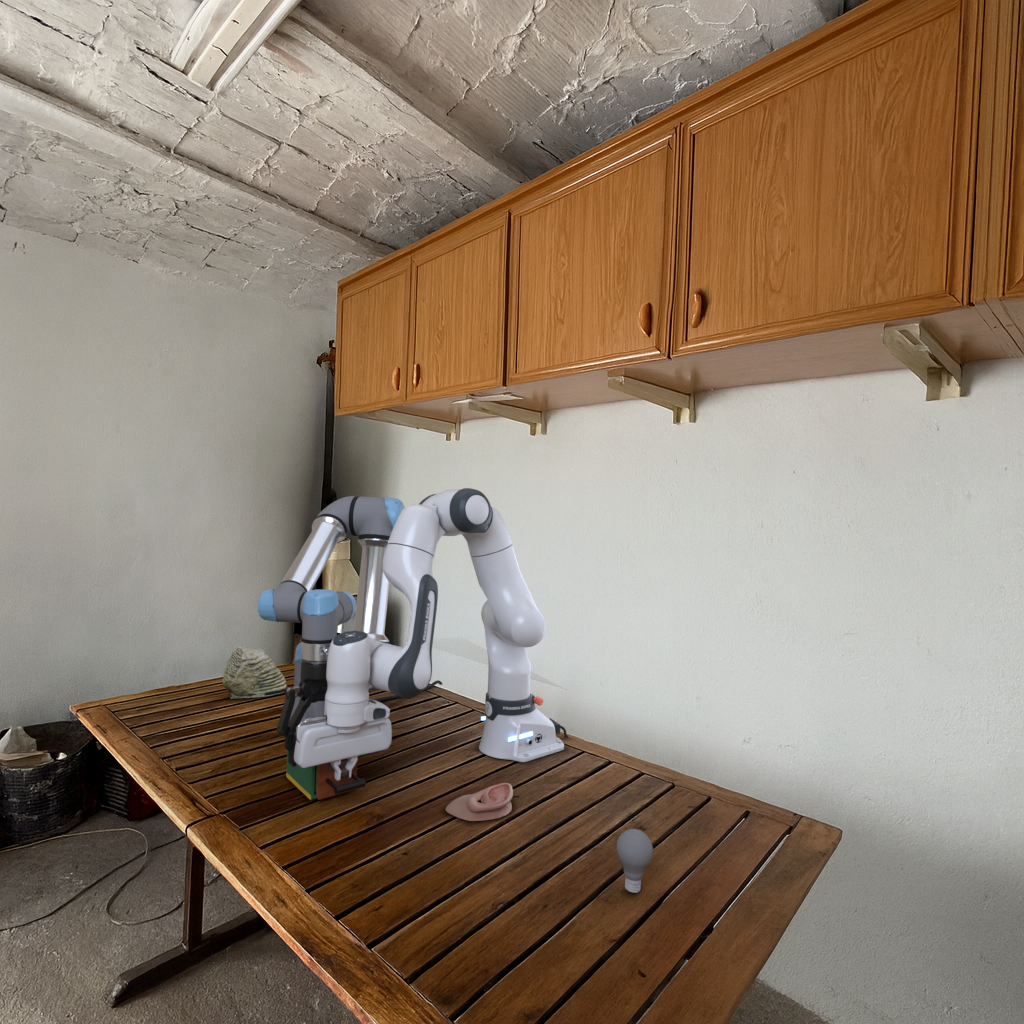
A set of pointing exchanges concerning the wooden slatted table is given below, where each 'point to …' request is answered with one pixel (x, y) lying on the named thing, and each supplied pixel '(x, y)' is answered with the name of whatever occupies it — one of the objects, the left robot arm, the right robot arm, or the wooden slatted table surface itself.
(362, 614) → the left robot arm
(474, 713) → the wooden slatted table surface
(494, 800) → the anatomical model
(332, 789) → the drawer
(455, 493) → the right robot arm
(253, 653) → the fossil
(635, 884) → the light bulb
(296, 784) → the cabinet
